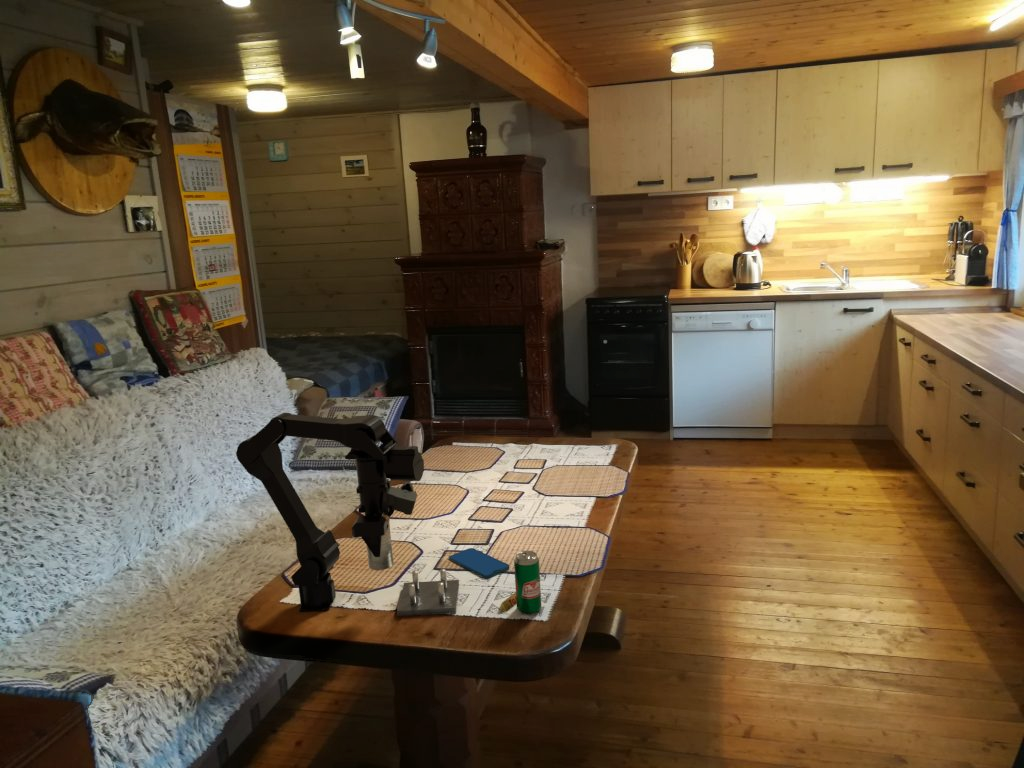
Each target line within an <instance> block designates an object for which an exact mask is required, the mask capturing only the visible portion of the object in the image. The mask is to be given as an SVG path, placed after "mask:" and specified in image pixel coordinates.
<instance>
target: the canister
mask: <svg viewBox="0 0 1024 768" xmlns="http://www.w3.org/2000/svg"><path fill="white" fill-rule="evenodd" d="M383 517H385V518H386V520H387V525H389V526H388V529H387V531H386V532H385V535H383V536H382V542H381V554H380V557H374V555H373V554H372V552H371V551H370V549H369V548H368V546H367V545H366V553H367V561H368V567H369V569H371V570H372V571H383V570H387V569H389V568H391V567H392V566H394V555H393V543H392V535H391V526H390V525H391V523H390V518H389V516H388V515H384V514H383Z"/></svg>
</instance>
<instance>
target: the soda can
mask: <svg viewBox="0 0 1024 768" xmlns="http://www.w3.org/2000/svg"><path fill="white" fill-rule="evenodd" d="M513 563H514V564H513V565H514V584H515V592H516V609H517V610H518V612H520V613H521V614H523V615H533V614H537V613H538V612H539V611H540V610H541V609H542V591H541V588H542V587H541V570H540V558H539V557H538V554H537V552H535V551H532V550H522V551H518V552H517V553H516V554H515V558H514V560H513Z"/></svg>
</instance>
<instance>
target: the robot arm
mask: <svg viewBox="0 0 1024 768" xmlns="http://www.w3.org/2000/svg"><path fill="white" fill-rule="evenodd" d="M286 437H294V438H303V439H304V438H305V439H313V440H324V441H333V442H336V443H339V444H341V445H342V446H344V447H346V448H348V449H350V450H349V452H348V453H347V454H346V455H345V456H344V459H345V460H355V468H356V475H357V477H356V478H357V487H356V488H355V489H356V494H358V495H359V503H360V504H359V506H358V514H364V515H359V516H358V517H357V518H356V519H355V520H354V522H353V523H352V526H351V533H352V534H351V535H352V537H353V538H356V539H357V538H361V539H362V540H363V542H364V543H365V544H366V547H367V546H368V548H369V549H370V551H371V552H372V554H373V555H374V557H380V554H381V542H382V536H383V535H385V532H386V531H387V529H388V526H389V525H387V520H386V518H385V517H383V514H384V515H388V516H389V518H390V517H392V516H393V514H394V513H395V511H396V512H400V513H403V514H404V515H407V516H410V515H412V514H413V512H414V508H415V505H416V501H417V497H418V493H417V491H416V490H414V485H413V483H412V482H420V481H421V480H422V478H423V475H424V469H425V468H424V467H425V461H424V458H423V456H422V454H421V452H419V447H418V446H417V445H410V446H398V445H399V442H398V441H397V440H396V439H395V437H394V436H393V435H392V434H391V433H390V431H389V430H388V429H387V428H386V425H385V422H384V421H383V420H382V419H381V416H378V415H376V414H368V415H365V414H364V415H357V416H351V417H347V418H336V417H335V418H334V417H326V416H325V417H324V416H323V417H322V416H315V415H306V414H305V415H303V414H294V413H290V412H282V413H280V414H278V415H275V416H274V417H273V418H271V419H270V420H269V421H268V423H267V424H266V425H264V426H263V428H261V429H260V430H259V431H258V432H257V433H255V434H254V435H252V436H251V437H248V438H247V439H245V440H243V441H241V442H240V443H239V444H238V446H237V448H236V452H235V455H236V458H237V460H238V462H239V463H240V465H241V466H242V467H243V468H244V470H245V471H246V472H247V474H249V475H250V476H252V477H254V478H256V479H257V480H259V481H260V482H261V483H262V485H263V487H264V488H265V490H266V492H267V493H268V495H269V497H270V499H271V500H272V502H273V503H274V506H275V507H276V509H277V510H278V512H279V515H280V516H281V517H282V520H283V521H284V522H285V525H286V526H287V528H288V530H289V532H290V533H291V535H292V537H293V538H294V540H295V547H296V557H297V560H298V563H299V565H300V567H299V568H298V569H297V570H296V571H295V572H294V573H293V574H292V575H291V577H290V579H291V581H292V583H293V584H294V587H295V586H296V587H298V593H299V600H300V604H299V608H298V611H299V612H315V611H317V612H318V611H328V610H331V607H332V604H333V603H334V602H335V600H336V597H337V596H336V587H335V579H332V575H331V572H330V571H332V570H333V569H334V566H335V564H336V563H337V562H338V561H339V559H340V555H341V550H340V548H339V547H340V543H339V542H338V540H336V538H335V536H334V533H333V532H332V530H330V529H328V530H327V531H325V532H324V531H323V530H322V529H320V528H318V527H317V526H316V524H315V522H314V520H313V518H312V517H311V514H310V513H309V512H308V510H307V508H306V506H305V505H304V503H303V502H302V500H301V498H300V496H299V494H298V492H297V491H296V489H295V487H294V486H293V484H292V482H291V481H290V478H289V477H288V474H286V472H285V470H284V468H283V465H284V464H283V455H282V454H283V453H282V451H281V448H280V446H279V445H280V444H281V443H282V442H283V440H285V439H286ZM380 442H381V443H382V444H380V445H378V444H379V443H380ZM391 481H396V482H397V481H401V482H404V483H403V484H402V485H401V486H398V485H397V487H394V486H392V483H391Z"/></svg>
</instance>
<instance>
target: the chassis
mask: <svg viewBox="0 0 1024 768" xmlns="http://www.w3.org/2000/svg"><path fill="white" fill-rule="evenodd" d="M446 571H447V570H446V568H441V569H439V575H440V576H439V577H440V580H432V581H429V580H428V581H419V571H418V570H417V569H416V570H412V571H411V575H412V582H410V581H409V582H404V583H403V586H402V591H401V594H400V597H399V601H398V606H397V610H396V615H397V617H410V616H425V615H426V616H428V615H446V614H456V613H457V605H458V598H459V590H460V589H459V587H460V580H459V579H451V580H447V573H446Z"/></svg>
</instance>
